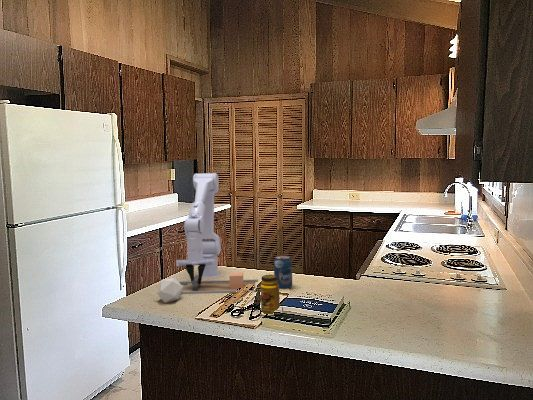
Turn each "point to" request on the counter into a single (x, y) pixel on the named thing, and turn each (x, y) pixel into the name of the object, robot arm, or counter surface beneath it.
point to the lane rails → (213, 291)
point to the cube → (236, 280)
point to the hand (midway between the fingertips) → (196, 283)
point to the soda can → (283, 271)
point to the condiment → (269, 294)
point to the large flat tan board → (212, 285)
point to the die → (169, 290)
